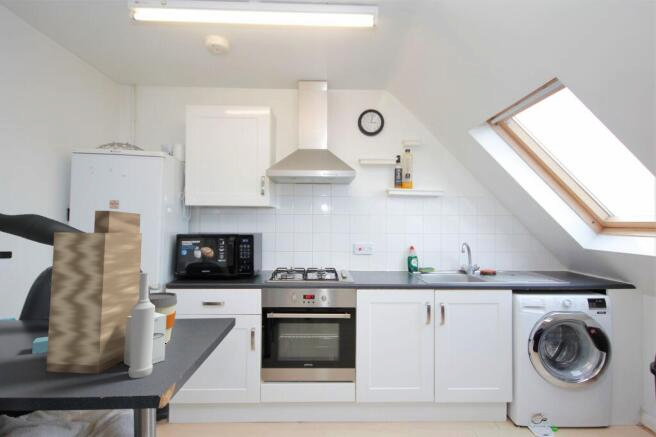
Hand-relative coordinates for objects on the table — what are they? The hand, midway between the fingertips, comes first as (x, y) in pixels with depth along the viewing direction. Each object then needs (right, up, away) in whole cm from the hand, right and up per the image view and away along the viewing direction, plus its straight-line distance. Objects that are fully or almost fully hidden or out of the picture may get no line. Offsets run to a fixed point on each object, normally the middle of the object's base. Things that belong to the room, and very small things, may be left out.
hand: (6, 255), depth 94 cm
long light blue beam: (+18, -27, +7) cm, 34 cm away
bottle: (+49, -28, -15) cm, 58 cm away
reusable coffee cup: (+39, -29, +8) cm, 50 cm away
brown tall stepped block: (+32, -28, -7) cm, 43 cm away
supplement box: (+45, -28, -8) cm, 54 cm away
